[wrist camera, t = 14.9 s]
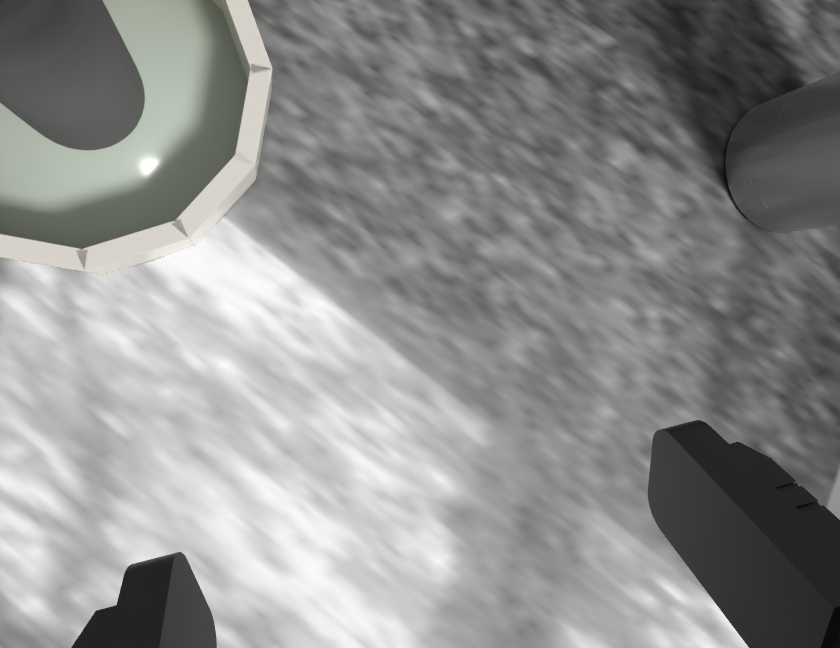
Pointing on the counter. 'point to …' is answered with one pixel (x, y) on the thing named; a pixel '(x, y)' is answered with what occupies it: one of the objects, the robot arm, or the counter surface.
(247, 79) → the dish
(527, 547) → the counter surface
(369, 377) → the counter surface
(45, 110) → the bottle
